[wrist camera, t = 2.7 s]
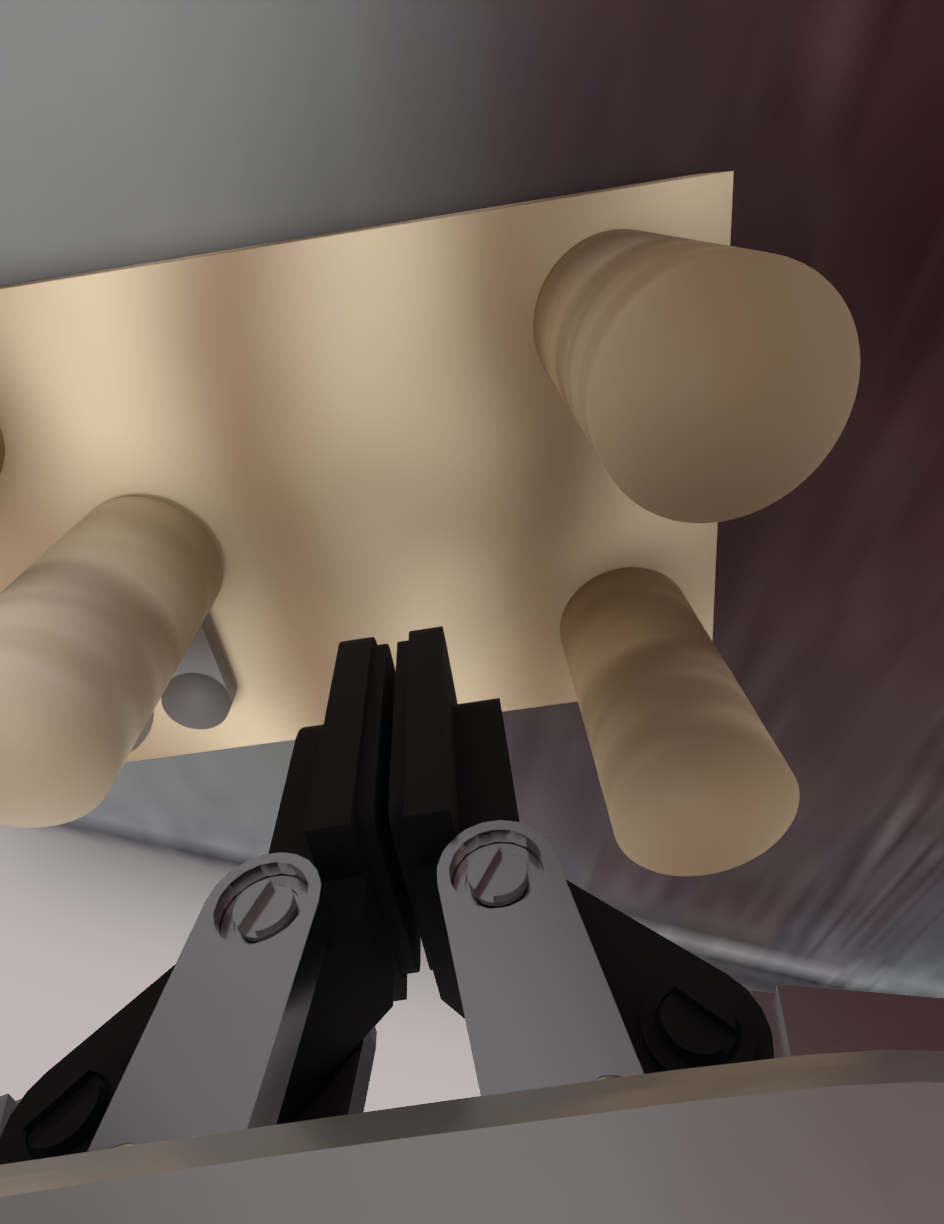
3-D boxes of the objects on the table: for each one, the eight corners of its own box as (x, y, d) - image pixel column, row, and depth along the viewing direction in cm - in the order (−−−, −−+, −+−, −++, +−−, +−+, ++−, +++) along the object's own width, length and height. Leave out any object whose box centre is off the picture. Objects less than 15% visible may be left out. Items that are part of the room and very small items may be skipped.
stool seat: (694, 174, 16) (952, 151, 8) (685, 637, 23) (820, 882, 15) (-169, 313, 17) (-727, 421, 9) (64, 723, 24) (-133, 1000, 16)
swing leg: (275, 702, 20) (203, 920, 14) (153, 719, 20) (31, 943, 14) (196, 484, 17) (58, 649, 11) (51, 506, 17) (-167, 680, 11)
